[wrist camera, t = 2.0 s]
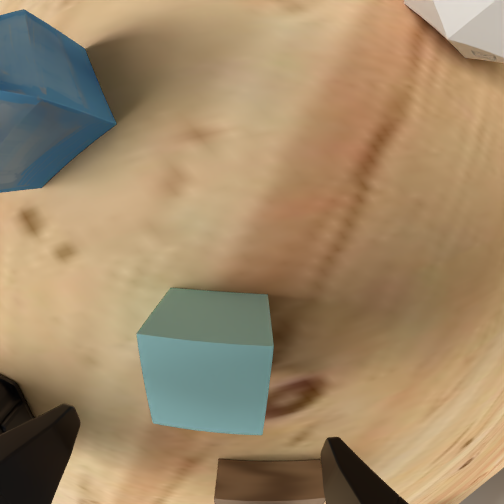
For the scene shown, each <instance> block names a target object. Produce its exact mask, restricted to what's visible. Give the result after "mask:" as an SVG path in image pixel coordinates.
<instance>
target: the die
mask: <svg viewBox="0 0 504 504" xmlns="http://www.w3.org/2000/svg"><path fill="white" fill-rule="evenodd" d="M404 4H405V5H407V6H408V7H409V8H411V9H412V10H413V11H414V12H416V13H417V14H418V15H419V16H421V17H422V18H423V19H424V20H425V21H427V22H428V23H429V24H430V25H431V26H432V27H434V28H435V29H436V30H437V31H438V32H439V33H440V34H441V35H442V36H444V37H445V38H446V39H447V40H448V41H449V42H450V43H451V44H452V45H453V46H454V47H455V48H456V49H457V50H458V51H459V52H460V53H461V54H462V55H463V56H464V57H465V58H470V59H479V60H486V61H493V62H499V63H504V0H404Z"/></svg>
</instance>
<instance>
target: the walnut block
mask: <svg viewBox="0 0 504 504" xmlns="http://www.w3.org/2000/svg"><path fill="white" fill-rule="evenodd" d="M214 502H215V504H324V502H325V496H324V489H323V477H322V468H321V463H320V459H319V460H305V461H239V460H225V459H219V461H218V470H217V479H216V487H215V496H214Z"/></svg>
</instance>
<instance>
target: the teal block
mask: <svg viewBox="0 0 504 504" xmlns="http://www.w3.org/2000/svg"><path fill="white" fill-rule="evenodd" d="M137 341H138V348H139V354H140V361H141V367H142V373H143V378H144V384H145V389H146V394H147V399H148V404H149V408H150V413H151V417H152V421H153V423H154V424H159V425H165V426H171V427H177V428H183V429H191V430H198V431H207V432H217V433H228V434H244V435H262V434H263V427H264V420H265V413H266V405H267V398H268V390H269V382H270V374H271V366H272V358H273V349H274V343H273V335H272V326H271V317H270V309H269V300H268V294H251V293H235V292H220V291H206V290H194V289H181V288H170V289H169V291H168V292H167V293H166V295H165V296H164V297H163V299H162V300H161V301H160V302H159V304H158V305H157V306H156V308H155V309H154V311H153V312H152V313H151V315H150V316H149V317H148V319H147V320H146V321H145V323H144V324H143V325H142V327H141V328H140V329H139V331H138V332H137Z"/></svg>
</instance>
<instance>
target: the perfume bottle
mask: <svg viewBox="0 0 504 504" xmlns="http://www.w3.org/2000/svg"><path fill="white" fill-rule="evenodd" d="M115 125H116V121H115V119H114V117H113V115H112V112H111V110H110V108H109V106H108V103H107V101H106V99H105V97H104V94H103V92H102V90H101V87H100V85H99V82H98V80H97V78H96V75H95V73H94V70H93V68H92V65H91V63H90V60H89V58H88V55H87V53H86V50H85V48H83V47H82V46H80V45H79V44H77V43H76V42H74V41H73V40H71V39H70V38H68V37H67V36H65V35H64V34H62V33H61V32H59V31H58V30H56V29H55V28H53V27H52V26H50V25H49V24H47V23H45V22H44V21H42V20H41V19H39V18H37V17H36V16H34V15H33V14H31V13H29V12H28V11H26V10H19V11H15V12H11V13H7V14H3V15H0V193H1V192H9V191H18V190H26V189H36V188H42V187H43V186H44V185H45V184H46V183H47V182H48V181H49V180H50V179H51V178H52V177H53V176H54V175H56V174H57V173H58V172H59V171H60V170H61V169H62V168H63V167H64V166H65V165H67V164H68V163H69V162H70V161H71V160H72V159H73V158H75V157H76V156H77V155H78V154H79V153H80V152H82V151H83V150H84V149H85V148H87V147H88V146H89V145H90V144H91V143H93V142H94V141H95V140H97V139H98V138H99V137H100V136H102V135H103V134H104V133H106V132H107V131H108V130H110V129H111V128H112V127H114V126H115Z"/></svg>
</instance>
